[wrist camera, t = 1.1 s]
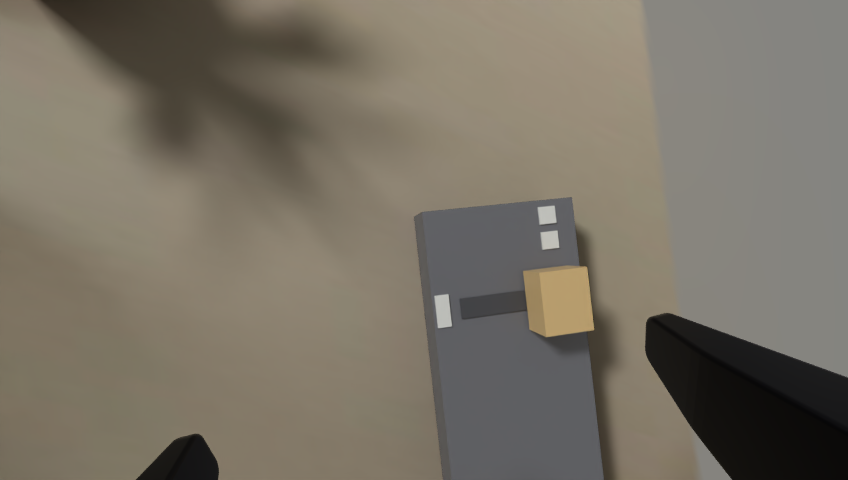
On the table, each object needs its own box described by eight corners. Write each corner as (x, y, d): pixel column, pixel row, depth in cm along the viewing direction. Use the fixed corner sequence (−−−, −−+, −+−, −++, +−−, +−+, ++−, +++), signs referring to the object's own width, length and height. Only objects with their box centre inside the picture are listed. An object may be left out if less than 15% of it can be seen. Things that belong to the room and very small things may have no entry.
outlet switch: (573, 323, 23) (594, 329, 21) (529, 329, 22) (546, 337, 20) (566, 265, 23) (586, 266, 21) (522, 270, 22) (539, 272, 20)
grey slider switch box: (589, 574, 26) (620, 618, 23) (457, 607, 25) (471, 657, 22) (547, 203, 26) (572, 197, 23) (414, 216, 25) (422, 212, 22)
